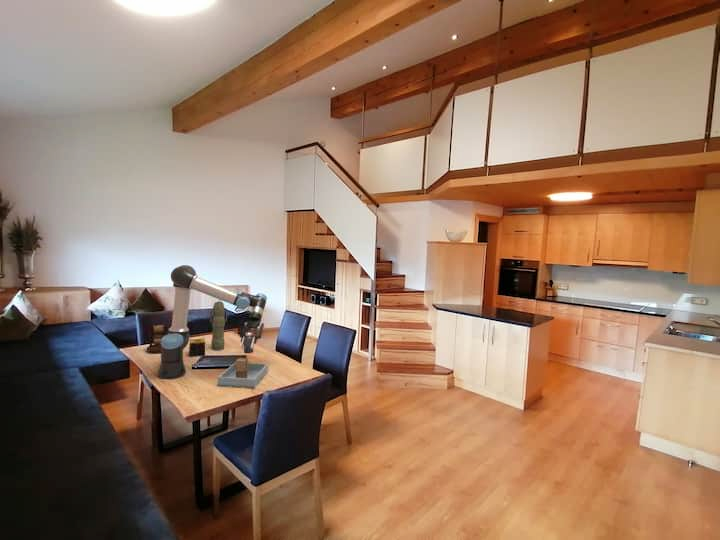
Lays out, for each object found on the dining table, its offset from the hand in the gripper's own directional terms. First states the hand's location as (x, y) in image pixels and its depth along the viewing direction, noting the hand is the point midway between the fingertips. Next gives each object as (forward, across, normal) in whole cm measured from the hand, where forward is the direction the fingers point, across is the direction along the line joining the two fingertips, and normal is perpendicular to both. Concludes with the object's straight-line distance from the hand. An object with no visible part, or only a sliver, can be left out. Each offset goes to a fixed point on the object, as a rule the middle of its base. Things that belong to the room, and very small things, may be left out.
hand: (246, 347), depth 221 cm
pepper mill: (0, 0, -5) cm, 5 cm away
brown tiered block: (-13, +76, -39) cm, 87 cm away
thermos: (-22, +39, -48) cm, 66 cm away
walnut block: (+17, 0, -8) cm, 18 cm away
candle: (-12, +47, -38) cm, 62 cm away
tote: (+15, 0, -11) cm, 18 cm away
